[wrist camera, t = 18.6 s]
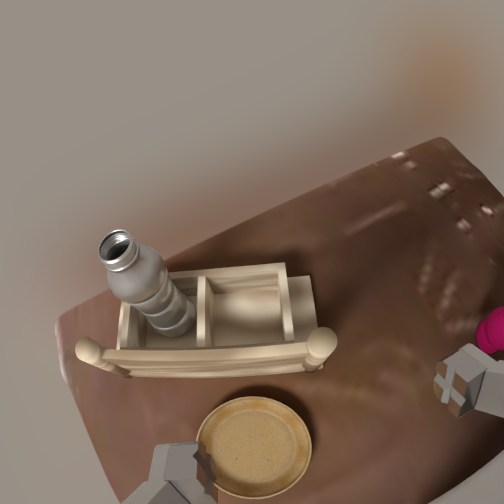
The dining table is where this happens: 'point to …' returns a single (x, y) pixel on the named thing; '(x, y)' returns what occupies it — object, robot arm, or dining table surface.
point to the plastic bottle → (145, 283)
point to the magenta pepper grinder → (492, 332)
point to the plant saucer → (256, 446)
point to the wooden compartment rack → (223, 329)
